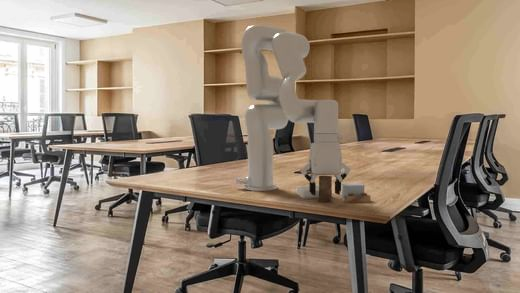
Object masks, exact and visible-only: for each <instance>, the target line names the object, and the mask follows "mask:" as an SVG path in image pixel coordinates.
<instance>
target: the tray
mask: <svg viewBox="0 0 520 293" xmlns="http://www.w3.org/2000/svg"><path fill="white" fill-rule="evenodd" d="M296 194H297V195H298V196H299V197H300V198H302V199H304V200H305V199H306V200H307V199H319V185H316V195H312V194H311V192H310V191H309V185H297V186H296ZM332 198H333V195H332V196H331V199H332Z"/></svg>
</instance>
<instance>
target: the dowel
mask: <svg viewBox="0 0 520 293" xmlns="http://www.w3.org/2000/svg"><path fill="white" fill-rule="evenodd" d="M332 176H333V175H318V186H319V198H318V202H320V203H332V198H331V196H332V197H333V190H332V188H333V186H332V185H333V184H332V183H333V182H332V178H333V177H332Z"/></svg>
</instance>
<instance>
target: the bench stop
mask: <svg viewBox="0 0 520 293" xmlns="http://www.w3.org/2000/svg"><path fill="white" fill-rule="evenodd" d="M343 201H344V202H345V203H371V195H370V194H367V192H364V193H361V195H354V194H353V193H348V195H344V199H343Z"/></svg>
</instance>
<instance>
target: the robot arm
mask: <svg viewBox="0 0 520 293" xmlns="http://www.w3.org/2000/svg"><path fill="white" fill-rule="evenodd" d="M241 36H242V37H241V42H240V48H241V54H242V57H243V61H244V69H245V71H244V72H245V81H246V82H245V83H246V93H247V96H248V97H249V99H250V100H252V101H256V102H257V101H258V102H268V104H267V103H261V104H260V103H258V104H257V103H256V104H252V105H250V106H249V107H247V109H246V110H245V114H244V121H245V127H246V134H247V175H246V177H243V178H235V184H240V185H241V184H242V185H243V184H244V185H243V189H244V190H247V191H254V192H267V191H274V190H277V189H278V185H277V184H276V183H275V184H274V139H273V136H272V134H271V132H270V130H282V129H284V128H285V127H287V125H288V122H289V121H290V123H291V122H292V123H294V124H302V123H303V124H304V123H307V124H312V123H313V142H311V143H310V149H309V156H308V163H306V164H305V165H304V166H303V167H301V168H300V169H299V171H300V173H301V174H302V175H303V177H304V178H305V179H306V180H307V181H308V182H309V183H308V184H309V185H308V186H309V191H310V192H311V194H312V195H316V186H317V185H316V179H317V177H318V176H334V177H335V181H334V193H335V194H336V195H340V194H341V193H342V183H343V182H344V180H345V179H346V178H347V177H348V176H347V175H348V174H349V173H350V172H351V168H350V167H349V166H348V165H346V164H345V163H344V162H343V156H342V155H343V154H342V149H341V144H340V142H339V141H340V140H342V139H343V135H340V134H339V102H338V101H337V100H334V99H319V100H318V99H301V98H299V97H298V95H297V91H296V88H295V86H296V85H295V84H296V82H298V80H300V79H302V78H303V77H304V76H305V75H306V73H307V67H306V64H305V61H304V58H306V57H308V55H309V53H310V48H311V47H310V42H309V40H308V38H307V37H306V36H305V35H303V34H300V33H297V32H294V31H290V30H287V29H284V28H279V27H276V26H275V27H274V26H268V25H263V24H253V25H250V26H248V27H247V28H246V29H245V30H244V32H243V34H242V35H241ZM262 50H264V51H272V52H273V55H274V57H275V61H276V63H277V66H278V68H279V71H280V75H281V77H282V78H281V77H278V76H274V75H270V74H269V66H268V65H269V64H268V62H267V59H266V57H265V55H264V53H263V52H262ZM307 171H308V172H309V173H310V175H309V174H308V172H307Z"/></svg>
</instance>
